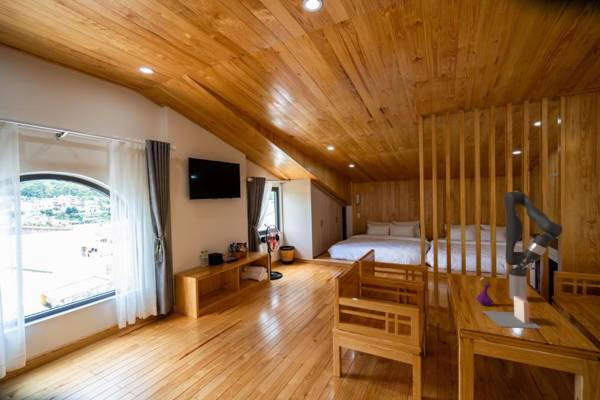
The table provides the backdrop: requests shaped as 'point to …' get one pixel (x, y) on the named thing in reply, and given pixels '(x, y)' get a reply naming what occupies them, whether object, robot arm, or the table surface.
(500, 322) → the mat
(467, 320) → the table surface
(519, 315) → the tile
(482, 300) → the perfume bottle
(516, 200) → the robot arm
